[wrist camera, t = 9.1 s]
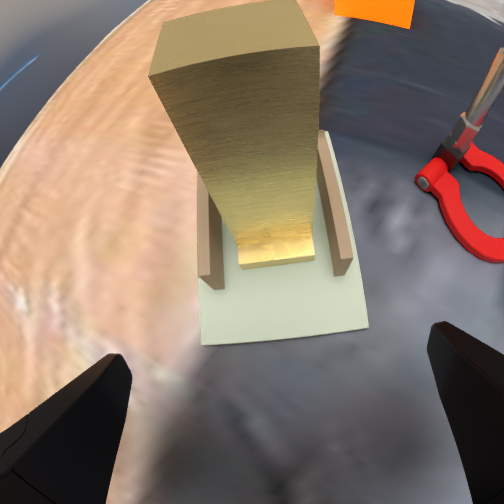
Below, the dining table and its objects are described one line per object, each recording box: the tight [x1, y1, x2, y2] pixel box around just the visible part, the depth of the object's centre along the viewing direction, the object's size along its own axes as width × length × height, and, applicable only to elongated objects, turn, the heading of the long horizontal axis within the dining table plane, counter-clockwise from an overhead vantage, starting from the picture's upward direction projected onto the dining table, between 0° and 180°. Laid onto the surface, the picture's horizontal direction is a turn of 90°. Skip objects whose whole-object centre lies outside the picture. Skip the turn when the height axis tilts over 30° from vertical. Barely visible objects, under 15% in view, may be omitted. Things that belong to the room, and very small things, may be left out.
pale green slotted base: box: [197, 130, 369, 346], centre depth 17 cm, size 13×9×4 cm
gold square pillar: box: [148, 0, 320, 270], centre depth 12 cm, size 5×4×12 cm
